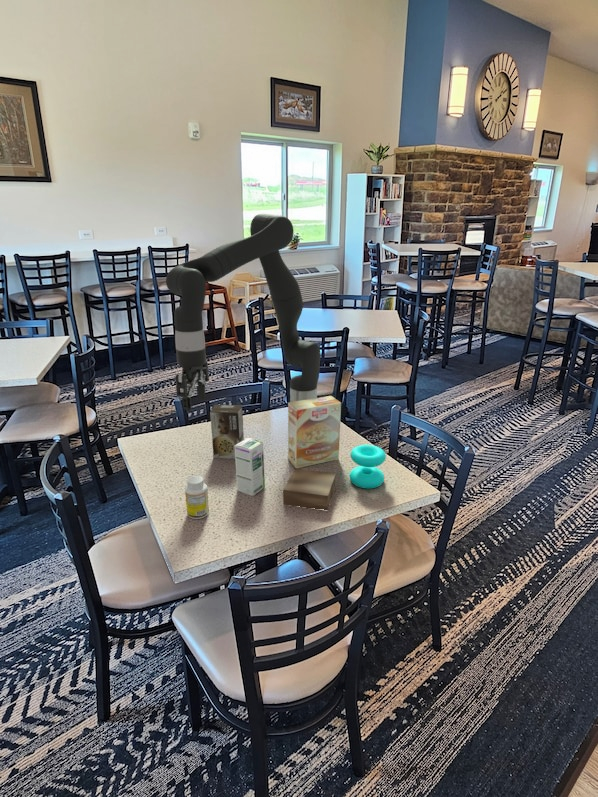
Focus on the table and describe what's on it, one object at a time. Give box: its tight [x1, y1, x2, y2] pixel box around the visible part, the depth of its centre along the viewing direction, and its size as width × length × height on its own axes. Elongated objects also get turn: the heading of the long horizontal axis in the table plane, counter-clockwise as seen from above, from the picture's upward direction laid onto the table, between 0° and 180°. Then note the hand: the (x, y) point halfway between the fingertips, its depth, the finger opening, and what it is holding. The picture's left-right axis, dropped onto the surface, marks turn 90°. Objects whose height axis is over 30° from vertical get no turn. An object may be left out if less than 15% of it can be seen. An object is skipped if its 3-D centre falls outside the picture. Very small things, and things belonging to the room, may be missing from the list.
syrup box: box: [234, 437, 266, 497], centre depth 137 cm, size 6×6×14 cm
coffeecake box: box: [287, 395, 342, 469], centre depth 153 cm, size 15×7×20 cm, turn 114°
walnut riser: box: [282, 467, 337, 511], centre depth 136 cm, size 12×12×5 cm
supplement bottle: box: [184, 475, 210, 520], centre depth 127 cm, size 6×6×10 cm
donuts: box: [349, 444, 387, 490], centre depth 142 cm, size 10×10×10 cm
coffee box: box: [209, 404, 245, 460], centre depth 156 cm, size 9×6×16 cm
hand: (194, 404), depth 135 cm, fingers open, 8 cm apart
